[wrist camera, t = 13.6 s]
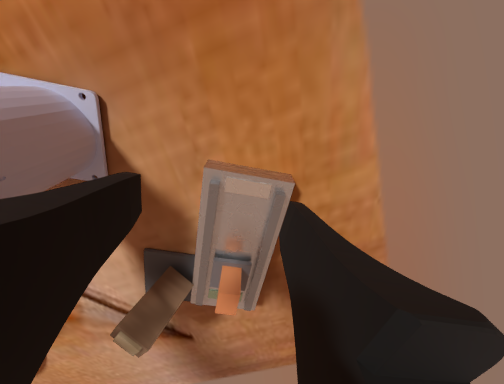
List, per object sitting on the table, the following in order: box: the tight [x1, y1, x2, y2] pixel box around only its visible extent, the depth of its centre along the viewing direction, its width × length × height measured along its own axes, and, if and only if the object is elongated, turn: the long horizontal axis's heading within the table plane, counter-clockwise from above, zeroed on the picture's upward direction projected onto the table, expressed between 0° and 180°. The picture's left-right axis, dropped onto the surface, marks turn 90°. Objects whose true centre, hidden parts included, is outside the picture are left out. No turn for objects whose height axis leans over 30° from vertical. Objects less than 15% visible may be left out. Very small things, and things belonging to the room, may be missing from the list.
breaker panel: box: [190, 160, 295, 311], centre depth 23 cm, size 8×18×3 cm, turn 169°
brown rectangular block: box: [110, 266, 194, 358], centre depth 22 cm, size 4×4×7 cm
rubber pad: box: [144, 248, 195, 301], centre depth 26 cm, size 7×8×1 cm
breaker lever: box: [209, 257, 252, 315], centre depth 21 cm, size 4×4×4 cm
